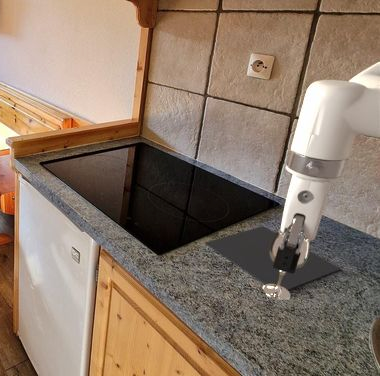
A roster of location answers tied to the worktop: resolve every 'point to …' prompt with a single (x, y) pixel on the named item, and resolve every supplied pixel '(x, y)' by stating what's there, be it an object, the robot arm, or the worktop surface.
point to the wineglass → (277, 290)
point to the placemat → (267, 258)
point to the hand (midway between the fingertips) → (286, 259)
